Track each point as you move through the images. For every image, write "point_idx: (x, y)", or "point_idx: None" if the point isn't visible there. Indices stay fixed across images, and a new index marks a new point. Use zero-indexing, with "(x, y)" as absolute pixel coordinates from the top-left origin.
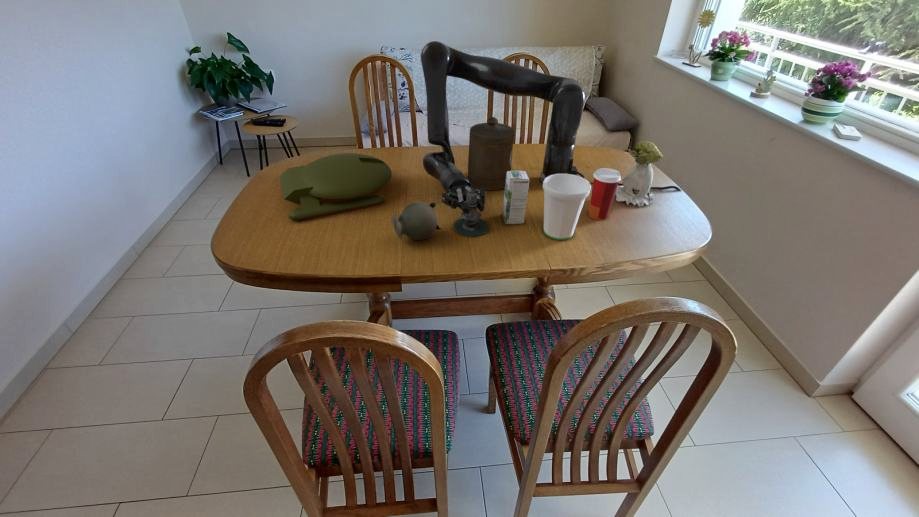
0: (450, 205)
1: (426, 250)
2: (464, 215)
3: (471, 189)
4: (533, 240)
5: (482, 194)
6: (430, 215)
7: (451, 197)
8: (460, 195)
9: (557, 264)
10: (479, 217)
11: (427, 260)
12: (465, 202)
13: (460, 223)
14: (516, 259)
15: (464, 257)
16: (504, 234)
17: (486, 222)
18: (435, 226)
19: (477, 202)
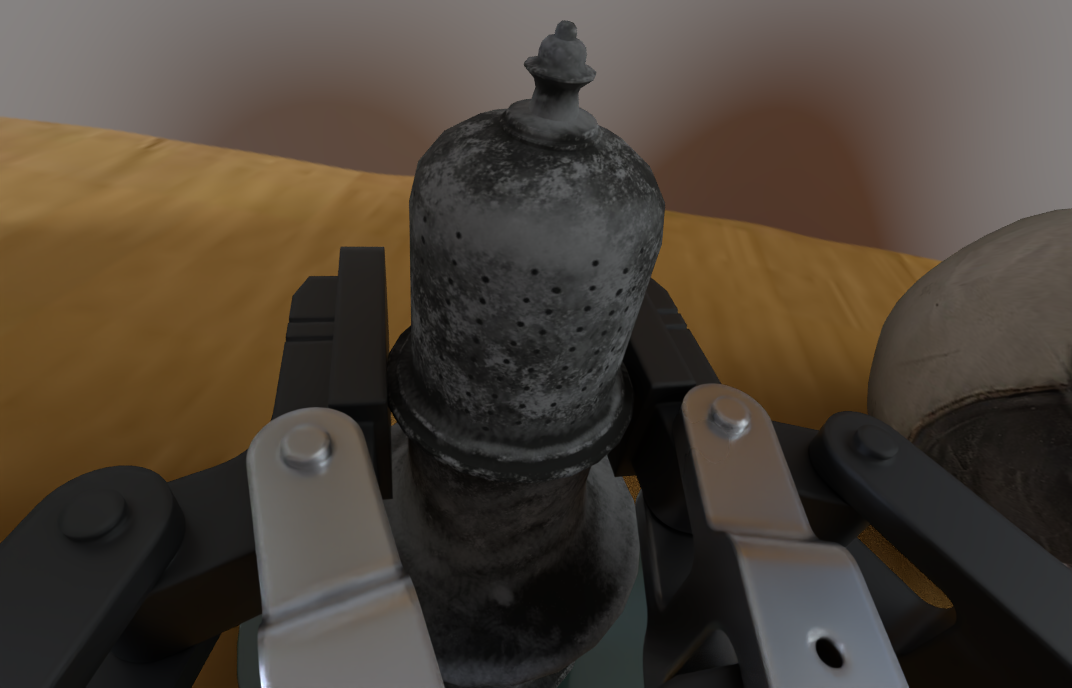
0: (882, 566)
1: (840, 361)
2: (594, 481)
3: (579, 46)
4: (7, 293)
5: (56, 599)
6: (1018, 228)
7: (990, 574)
8: (786, 545)
9: (106, 138)
10: (394, 429)
11: (802, 292)
12: (625, 411)
13: (598, 676)
14: (298, 200)
15: None
16: (184, 405)
17: (239, 639)
18: (887, 323)
19: (388, 369)
